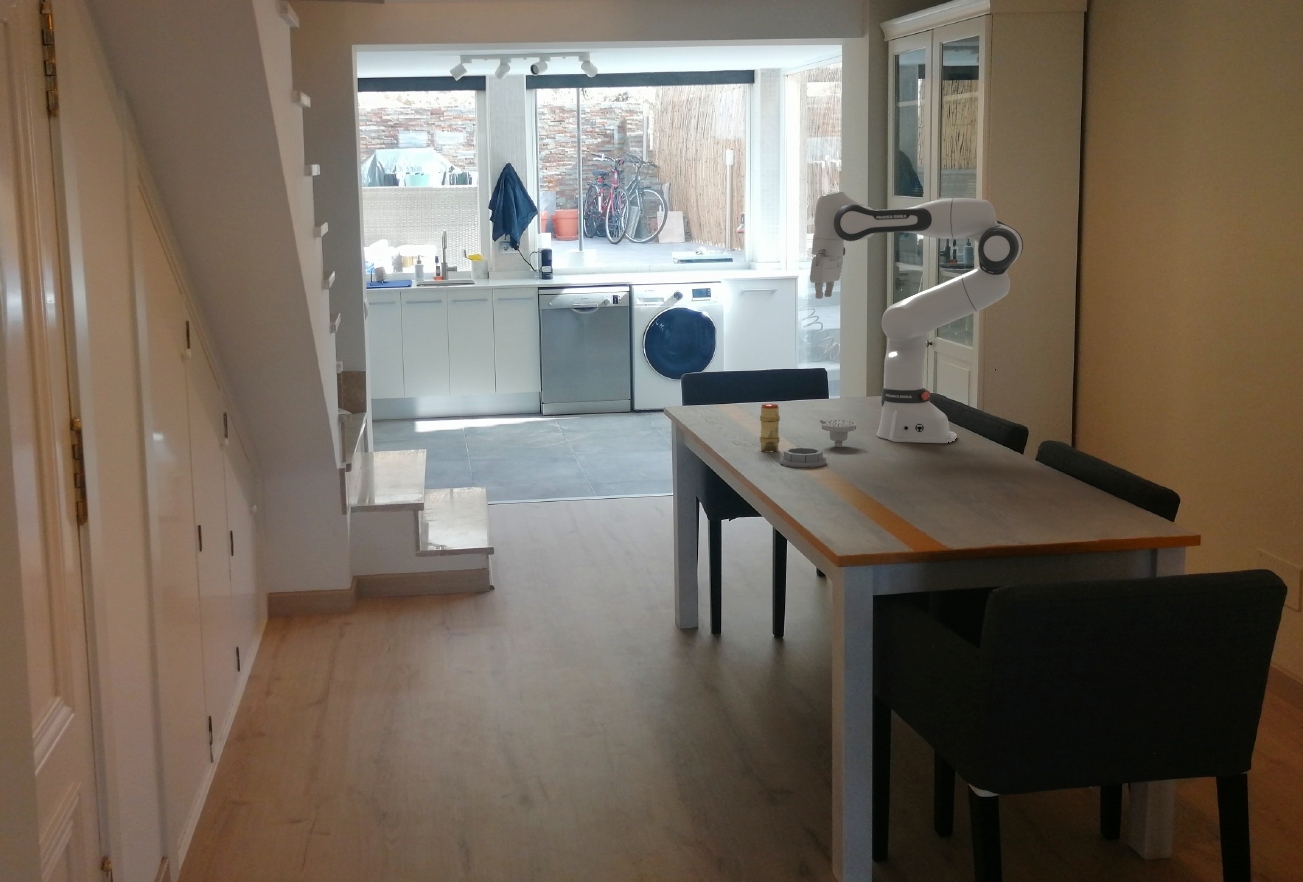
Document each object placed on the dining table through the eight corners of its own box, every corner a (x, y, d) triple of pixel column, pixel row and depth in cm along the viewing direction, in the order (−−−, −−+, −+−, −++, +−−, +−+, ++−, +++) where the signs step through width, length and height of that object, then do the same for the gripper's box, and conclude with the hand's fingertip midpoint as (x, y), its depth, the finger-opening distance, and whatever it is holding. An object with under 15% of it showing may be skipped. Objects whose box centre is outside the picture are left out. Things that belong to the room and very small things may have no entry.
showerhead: (820, 417, 353) (856, 418, 351) (820, 442, 354) (856, 443, 352) (818, 422, 344) (855, 424, 342) (818, 448, 345) (854, 450, 343)
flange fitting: (831, 460, 330) (831, 448, 329) (819, 469, 319) (819, 457, 319) (787, 457, 335) (787, 445, 334) (774, 465, 324) (774, 453, 323)
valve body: (781, 449, 345) (782, 403, 342) (776, 452, 340) (776, 407, 338) (762, 447, 347) (763, 402, 344) (757, 451, 342) (757, 405, 340)
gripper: (828, 250, 349) (824, 300, 351) (847, 249, 367) (843, 296, 370) (806, 249, 351) (802, 298, 354) (826, 247, 370) (822, 294, 372)
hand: (823, 297), depth 362 cm, fingers open, 8 cm apart
